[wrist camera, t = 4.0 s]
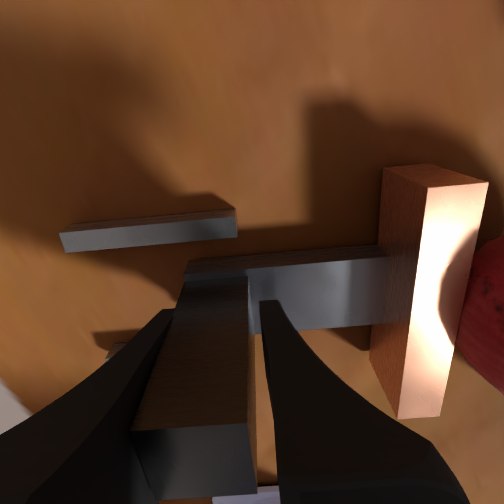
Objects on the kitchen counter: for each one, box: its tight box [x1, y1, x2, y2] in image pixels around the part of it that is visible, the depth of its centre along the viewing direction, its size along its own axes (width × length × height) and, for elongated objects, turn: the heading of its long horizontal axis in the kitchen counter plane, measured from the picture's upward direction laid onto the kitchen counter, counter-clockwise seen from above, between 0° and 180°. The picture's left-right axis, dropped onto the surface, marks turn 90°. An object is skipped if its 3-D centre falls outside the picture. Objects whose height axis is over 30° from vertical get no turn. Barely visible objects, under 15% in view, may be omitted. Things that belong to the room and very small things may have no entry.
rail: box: [59, 209, 238, 362], centre depth 14 cm, size 7×6×1 cm
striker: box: [130, 163, 489, 501], centre depth 10 cm, size 9×9×7 cm
